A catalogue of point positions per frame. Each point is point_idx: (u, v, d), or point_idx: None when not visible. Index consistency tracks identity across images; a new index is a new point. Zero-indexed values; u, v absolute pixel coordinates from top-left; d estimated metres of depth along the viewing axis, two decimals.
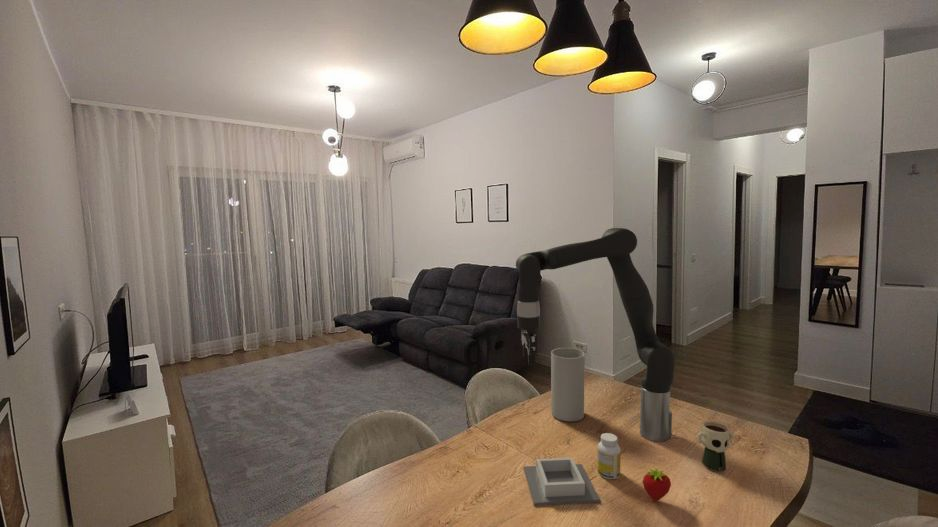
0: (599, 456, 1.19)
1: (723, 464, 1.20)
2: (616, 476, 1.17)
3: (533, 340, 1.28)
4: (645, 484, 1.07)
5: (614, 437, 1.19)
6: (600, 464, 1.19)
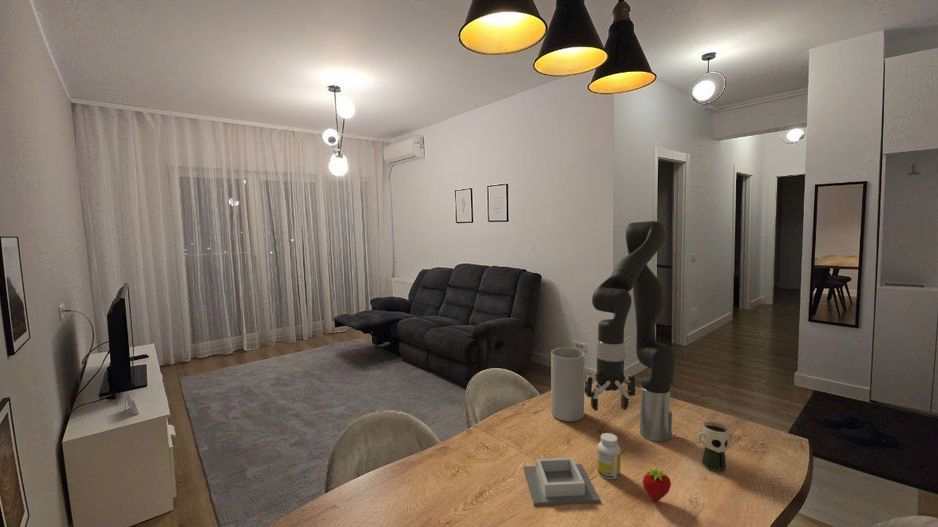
0: (599, 456, 1.19)
1: (723, 464, 1.20)
2: (616, 476, 1.17)
3: None
4: (645, 484, 1.07)
5: (614, 437, 1.19)
6: (600, 464, 1.19)
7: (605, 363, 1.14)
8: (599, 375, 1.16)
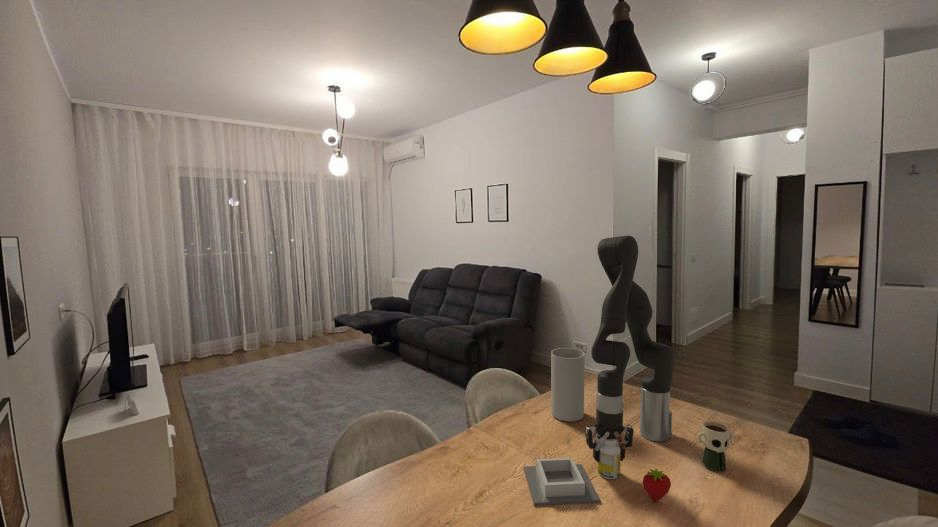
0: None
1: (723, 464, 1.20)
2: (616, 476, 1.17)
3: None
4: (645, 484, 1.07)
5: None
6: (600, 464, 1.19)
7: (604, 415, 1.15)
8: (598, 426, 1.18)
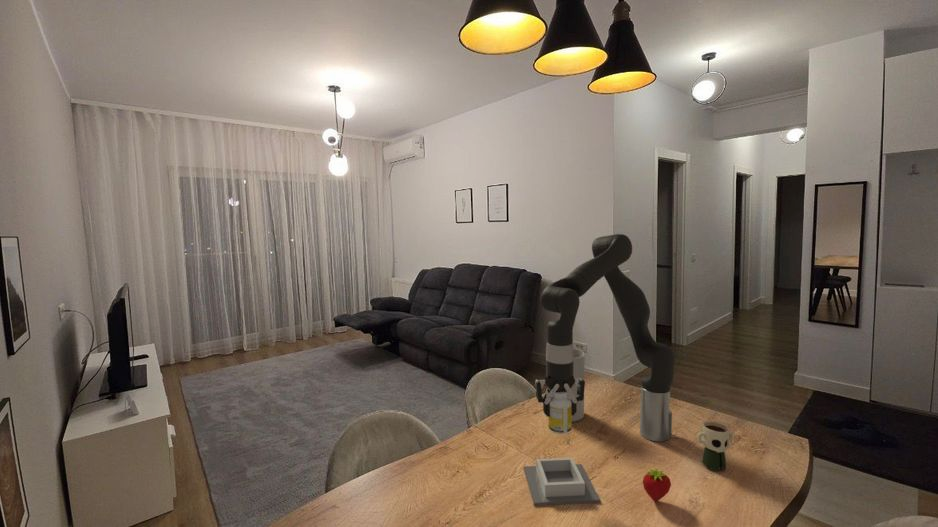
0: (549, 410, 1.13)
1: (723, 464, 1.20)
2: (566, 431, 1.11)
3: None
4: (645, 484, 1.07)
5: None
6: (550, 419, 1.13)
7: (553, 366, 1.09)
8: (548, 378, 1.11)
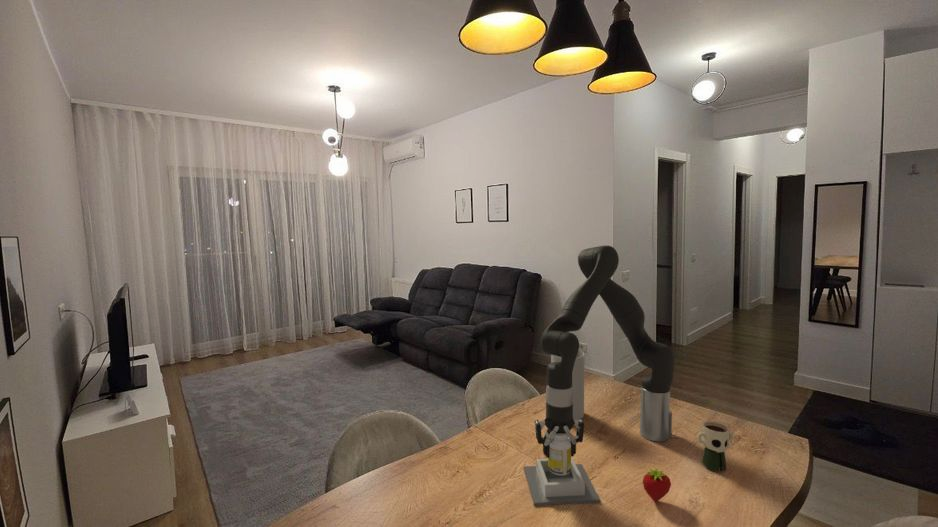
0: (549, 451, 1.14)
1: (723, 464, 1.20)
2: (566, 472, 1.12)
3: None
4: (645, 484, 1.07)
5: None
6: (549, 460, 1.14)
7: (553, 408, 1.11)
8: (548, 420, 1.13)
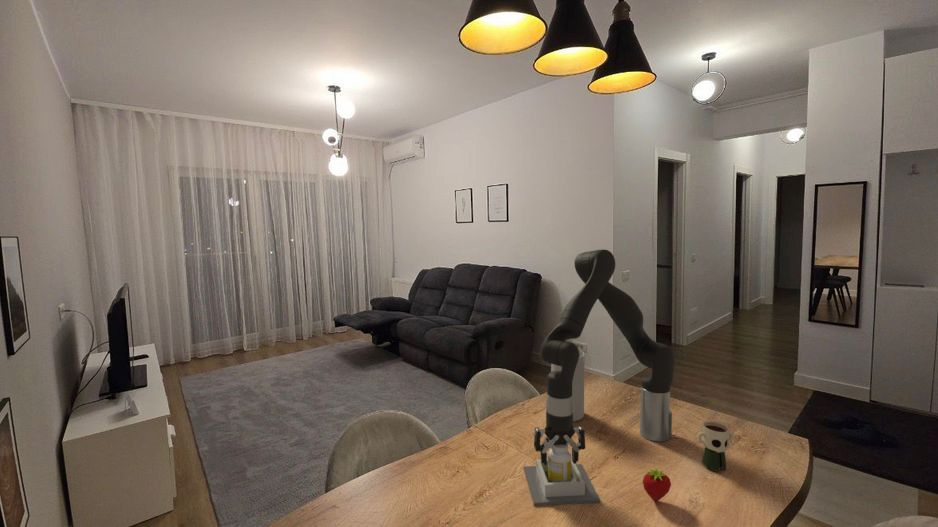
0: (549, 464, 1.14)
1: (723, 464, 1.20)
2: None
3: None
4: (645, 484, 1.07)
5: (565, 444, 1.14)
6: (550, 472, 1.14)
7: (553, 418, 1.11)
8: (548, 429, 1.13)
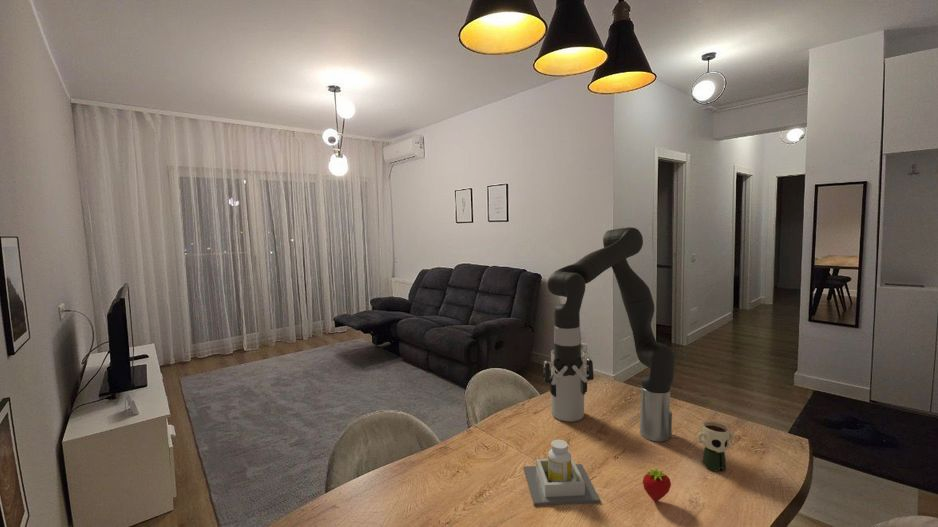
0: (549, 464, 1.14)
1: (723, 464, 1.20)
2: None
3: None
4: (645, 484, 1.07)
5: (565, 444, 1.14)
6: (550, 472, 1.14)
7: (561, 348, 1.12)
8: (556, 360, 1.15)
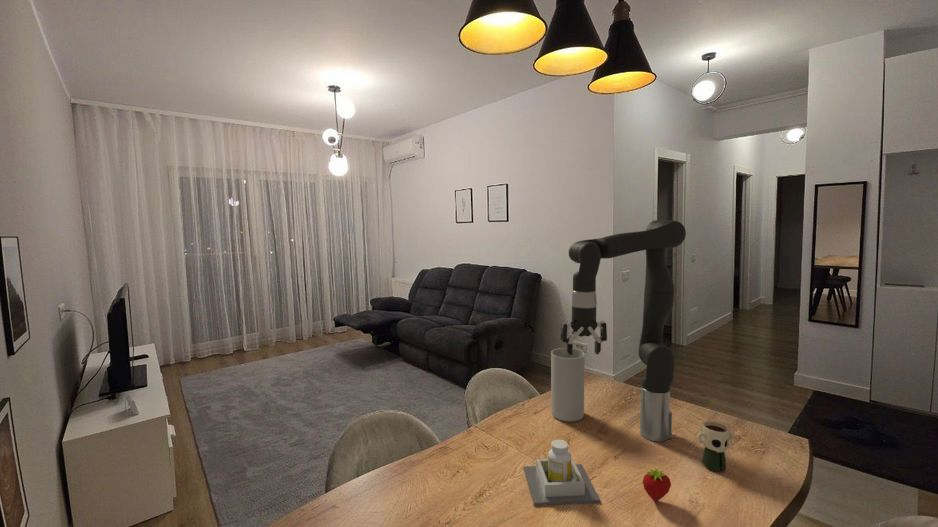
0: (549, 464, 1.14)
1: (723, 464, 1.20)
2: None
3: None
4: (645, 484, 1.07)
5: (565, 444, 1.14)
6: (550, 472, 1.14)
7: (578, 310, 1.24)
8: (573, 322, 1.26)
